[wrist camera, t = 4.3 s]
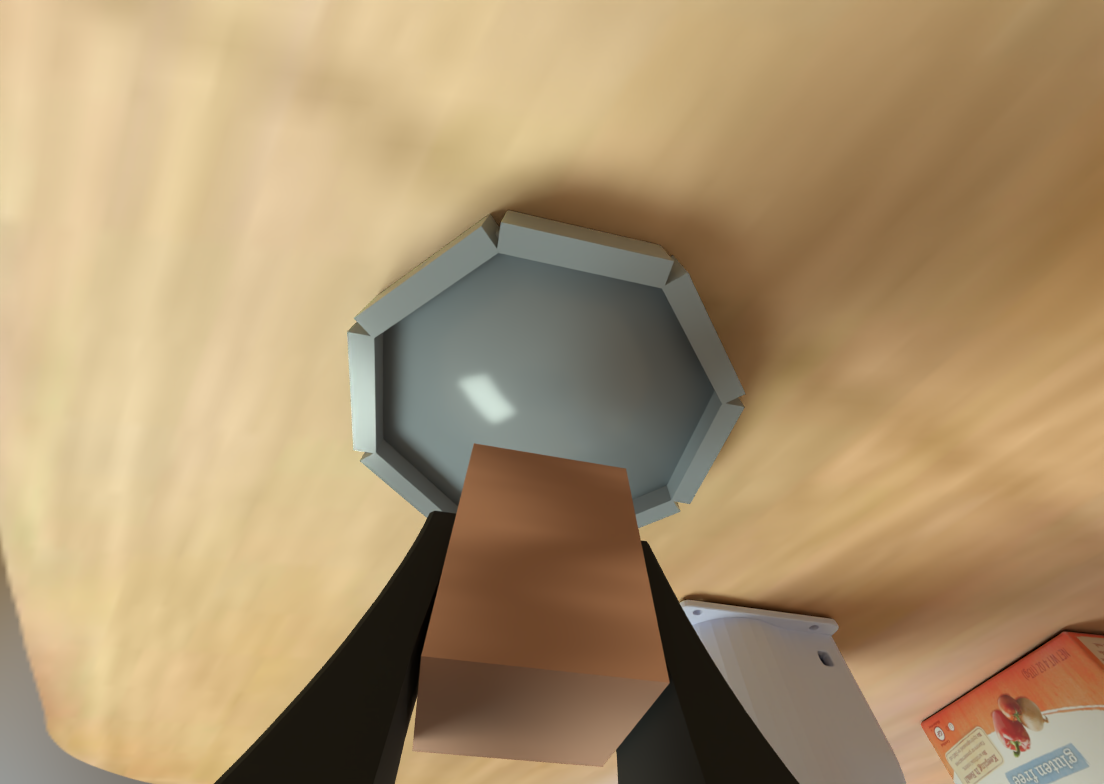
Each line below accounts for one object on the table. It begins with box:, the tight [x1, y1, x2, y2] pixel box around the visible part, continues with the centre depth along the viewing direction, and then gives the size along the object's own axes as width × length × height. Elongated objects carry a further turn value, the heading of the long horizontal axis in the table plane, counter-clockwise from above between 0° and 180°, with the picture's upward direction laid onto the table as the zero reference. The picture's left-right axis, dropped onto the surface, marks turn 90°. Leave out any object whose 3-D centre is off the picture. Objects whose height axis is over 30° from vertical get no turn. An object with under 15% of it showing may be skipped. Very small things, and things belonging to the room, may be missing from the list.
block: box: [412, 443, 670, 767], centre depth 10 cm, size 4×4×5 cm
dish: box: [347, 210, 745, 528], centre depth 16 cm, size 13×13×2 cm
